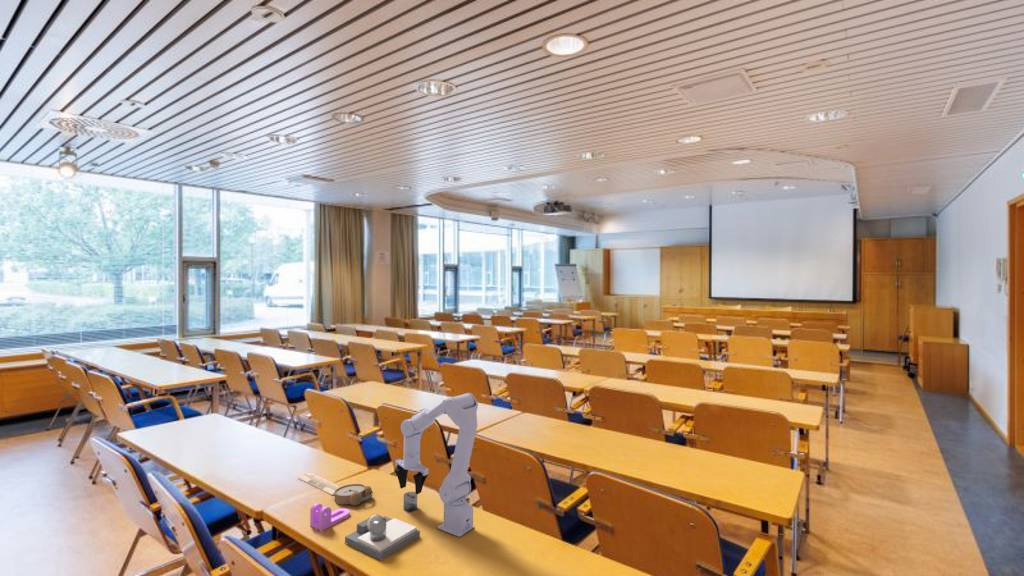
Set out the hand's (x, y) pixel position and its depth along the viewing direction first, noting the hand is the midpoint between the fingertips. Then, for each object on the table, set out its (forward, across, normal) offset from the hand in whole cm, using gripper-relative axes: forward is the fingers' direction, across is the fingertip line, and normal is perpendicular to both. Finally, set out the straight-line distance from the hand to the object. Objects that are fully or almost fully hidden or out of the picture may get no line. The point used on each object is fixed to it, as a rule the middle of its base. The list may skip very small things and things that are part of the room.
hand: (410, 490), depth 173 cm
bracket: (+7, +15, +21) cm, 27 cm away
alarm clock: (+7, +22, +7) cm, 24 cm away
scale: (+6, -8, +20) cm, 23 cm away
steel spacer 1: (+3, -10, +24) cm, 26 cm away
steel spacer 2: (+6, 0, 0) cm, 7 cm away
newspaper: (+8, +42, +6) cm, 43 cm away
